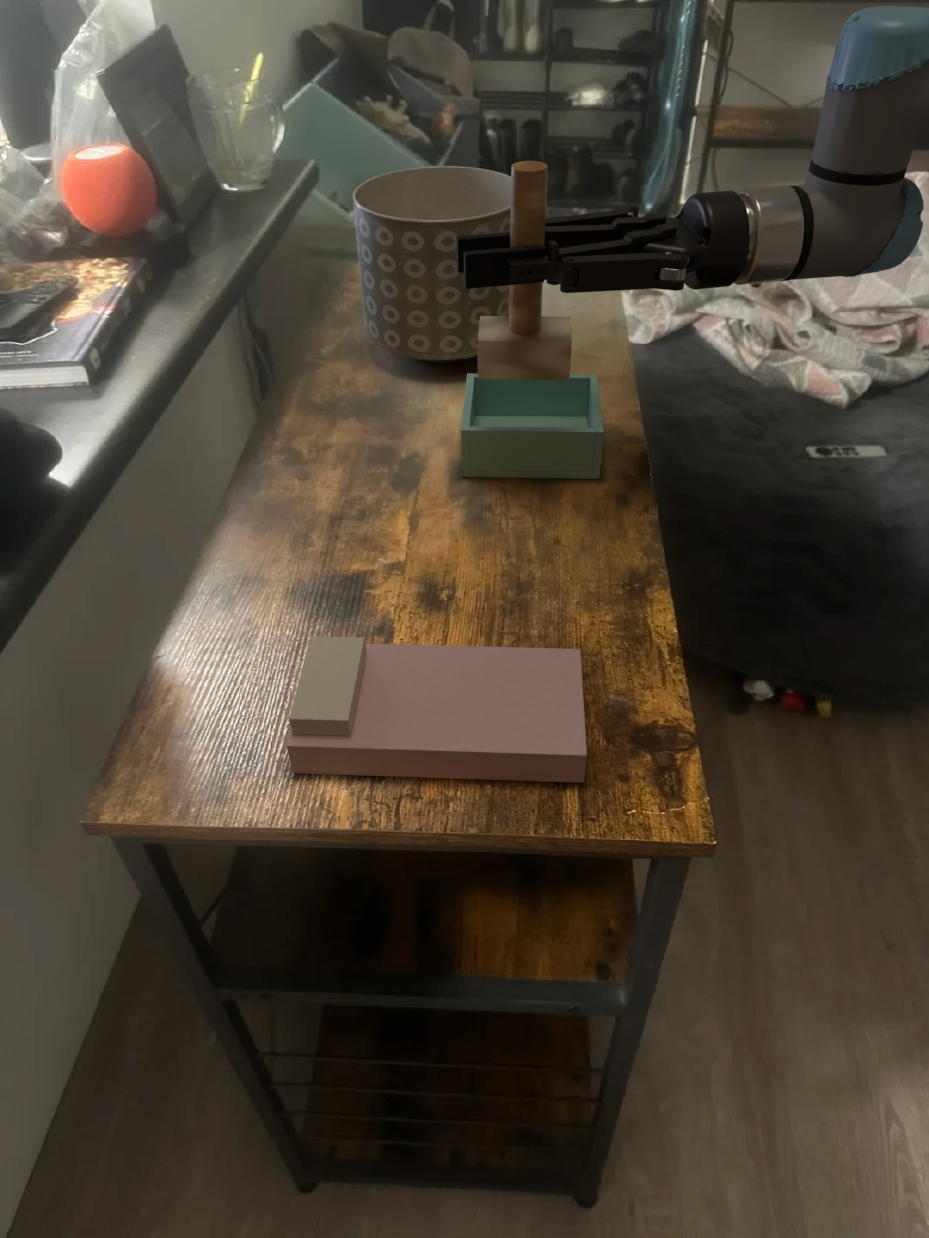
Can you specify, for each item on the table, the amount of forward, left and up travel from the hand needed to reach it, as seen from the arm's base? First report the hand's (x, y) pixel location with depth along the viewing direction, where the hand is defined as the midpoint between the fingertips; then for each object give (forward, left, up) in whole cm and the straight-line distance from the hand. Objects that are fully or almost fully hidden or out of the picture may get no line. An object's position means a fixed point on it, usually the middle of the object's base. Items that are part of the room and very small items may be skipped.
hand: (461, 262), depth 72 cm
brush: (-4, -4, -10) cm, 11 cm away
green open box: (-2, -9, -22) cm, 24 cm away
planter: (+19, -23, -22) cm, 38 cm away
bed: (-16, +26, -22) cm, 37 cm away
